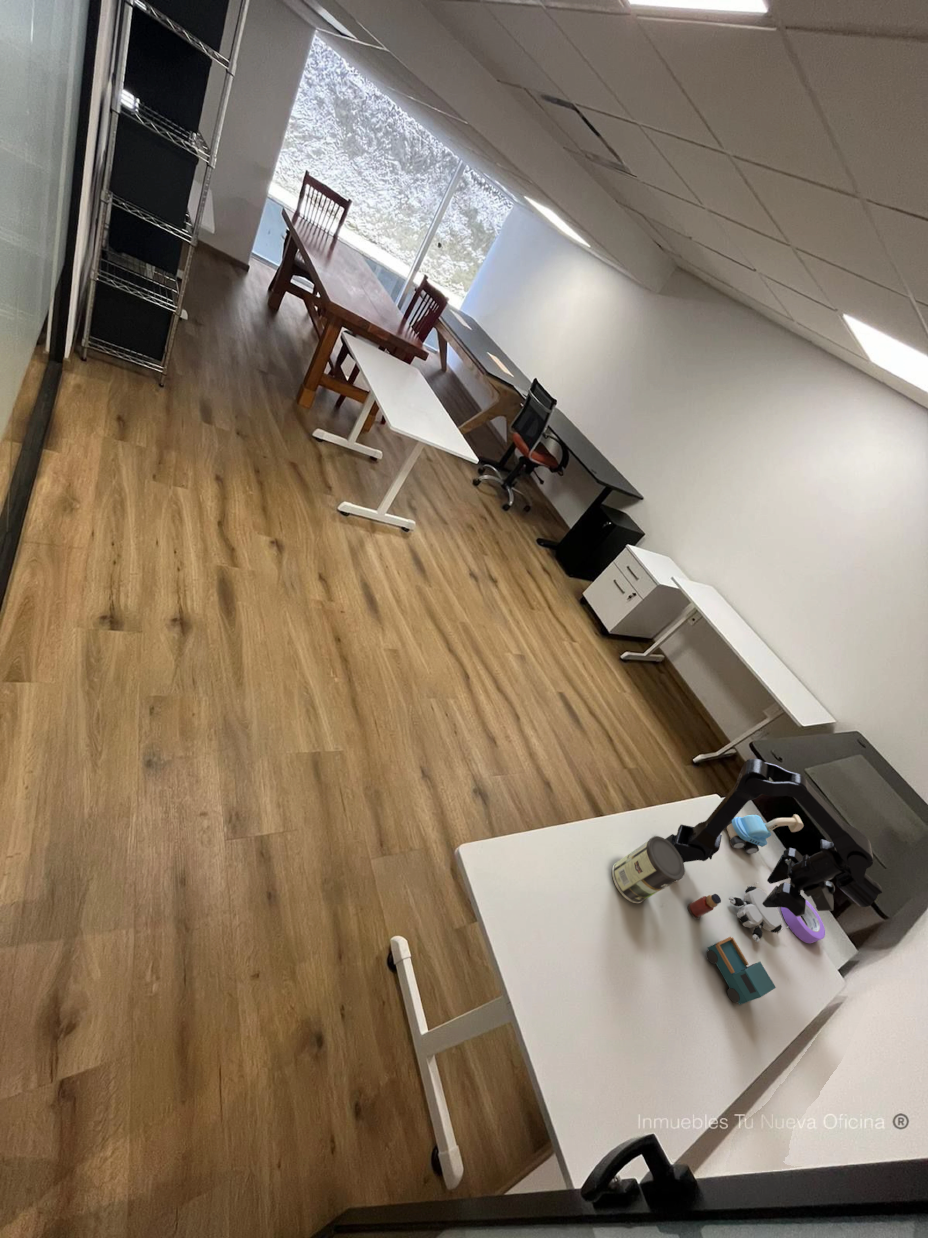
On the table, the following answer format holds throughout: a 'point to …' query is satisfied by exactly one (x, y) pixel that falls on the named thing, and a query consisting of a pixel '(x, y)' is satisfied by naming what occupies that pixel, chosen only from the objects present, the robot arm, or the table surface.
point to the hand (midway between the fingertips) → (766, 893)
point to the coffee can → (648, 870)
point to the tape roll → (800, 929)
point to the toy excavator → (757, 830)
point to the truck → (739, 972)
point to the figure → (703, 905)
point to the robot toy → (757, 912)
